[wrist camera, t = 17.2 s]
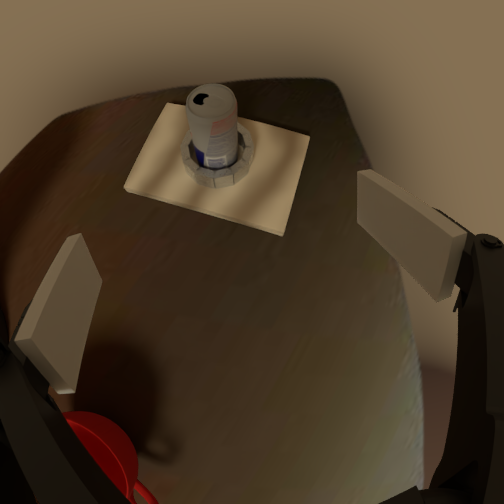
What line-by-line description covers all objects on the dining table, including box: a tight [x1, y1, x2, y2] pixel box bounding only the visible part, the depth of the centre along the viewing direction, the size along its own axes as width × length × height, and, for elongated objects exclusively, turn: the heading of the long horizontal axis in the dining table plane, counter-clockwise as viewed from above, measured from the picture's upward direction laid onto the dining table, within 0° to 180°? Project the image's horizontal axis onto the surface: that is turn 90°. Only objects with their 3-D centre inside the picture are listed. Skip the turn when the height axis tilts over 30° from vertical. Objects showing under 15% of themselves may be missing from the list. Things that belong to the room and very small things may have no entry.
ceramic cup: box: [62, 411, 158, 504], centre depth 27 cm, size 13×17×10 cm
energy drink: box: [185, 83, 238, 171], centre depth 34 cm, size 5×5×12 cm
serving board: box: [124, 103, 310, 236], centre depth 41 cm, size 22×15×2 cm
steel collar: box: [180, 122, 254, 189], centre depth 39 cm, size 9×9×3 cm
